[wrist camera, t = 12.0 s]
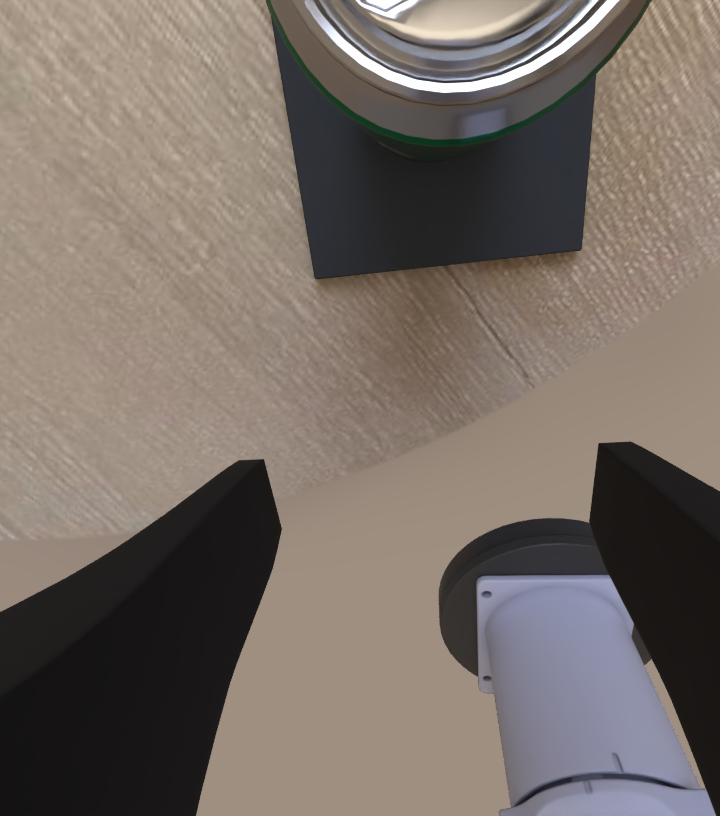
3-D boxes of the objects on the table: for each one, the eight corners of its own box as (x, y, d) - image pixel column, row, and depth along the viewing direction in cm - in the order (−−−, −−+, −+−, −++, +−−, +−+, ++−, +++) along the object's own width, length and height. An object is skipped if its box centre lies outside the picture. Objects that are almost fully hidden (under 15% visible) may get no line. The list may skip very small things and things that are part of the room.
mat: (577, 248, 17) (582, 250, 17) (316, 277, 19) (314, 279, 18) (616, -237, 12) (623, -253, 11) (248, -141, 13) (242, -151, 13)
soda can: (328, 27, 15) (90, -369, 4) (485, -70, 13) (779, -1094, 3) (389, 189, 16) (341, 217, 6) (532, 119, 15) (812, -11, 4)
